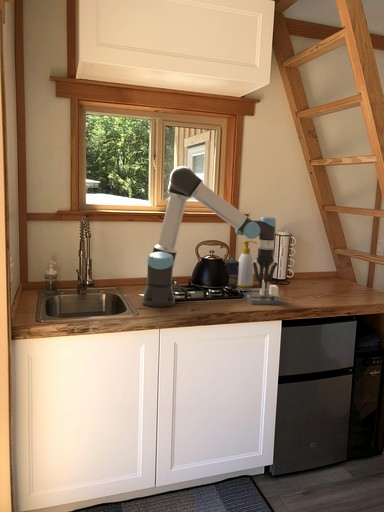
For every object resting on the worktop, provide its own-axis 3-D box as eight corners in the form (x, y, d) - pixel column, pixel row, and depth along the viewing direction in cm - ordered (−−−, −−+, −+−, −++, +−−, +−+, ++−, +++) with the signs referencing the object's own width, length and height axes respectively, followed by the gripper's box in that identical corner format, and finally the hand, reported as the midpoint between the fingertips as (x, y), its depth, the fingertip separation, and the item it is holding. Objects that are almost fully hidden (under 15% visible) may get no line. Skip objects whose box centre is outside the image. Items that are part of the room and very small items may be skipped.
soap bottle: (254, 288, 248) (258, 242, 244) (234, 286, 248) (237, 241, 244) (252, 283, 259) (256, 240, 255) (233, 282, 259) (236, 239, 255)
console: (250, 304, 211) (251, 298, 211) (237, 291, 236) (237, 286, 236) (282, 304, 214) (282, 298, 213) (265, 292, 239) (266, 286, 239)
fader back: (262, 291, 229) (263, 281, 228) (259, 289, 233) (260, 279, 233) (268, 291, 229) (268, 281, 228) (265, 289, 234) (265, 279, 233)
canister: (236, 294, 230) (238, 260, 227) (218, 292, 232) (220, 259, 229) (238, 290, 239) (240, 258, 237) (221, 288, 241) (223, 256, 239)
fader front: (271, 297, 216) (272, 287, 215) (268, 295, 221) (269, 284, 220) (277, 297, 216) (278, 287, 216) (274, 295, 221) (275, 285, 220)
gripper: (255, 248, 209) (251, 296, 213) (281, 249, 211) (276, 296, 215) (251, 246, 217) (247, 292, 220) (275, 247, 219) (271, 293, 222)
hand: (261, 294), depth 218 cm, fingers closed
